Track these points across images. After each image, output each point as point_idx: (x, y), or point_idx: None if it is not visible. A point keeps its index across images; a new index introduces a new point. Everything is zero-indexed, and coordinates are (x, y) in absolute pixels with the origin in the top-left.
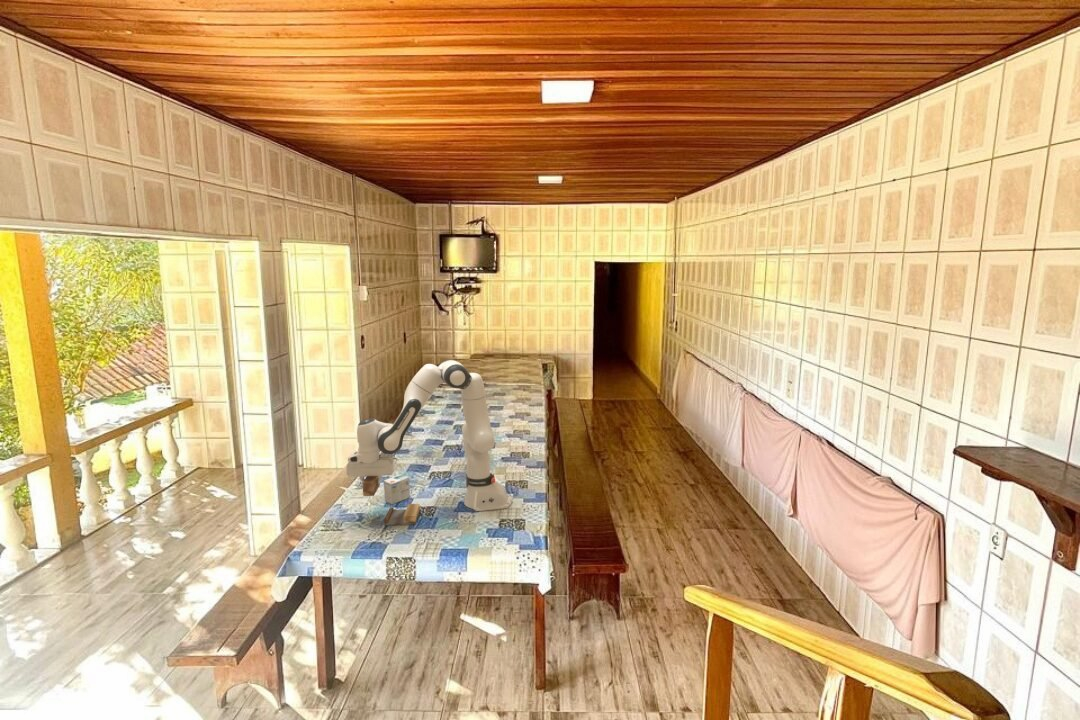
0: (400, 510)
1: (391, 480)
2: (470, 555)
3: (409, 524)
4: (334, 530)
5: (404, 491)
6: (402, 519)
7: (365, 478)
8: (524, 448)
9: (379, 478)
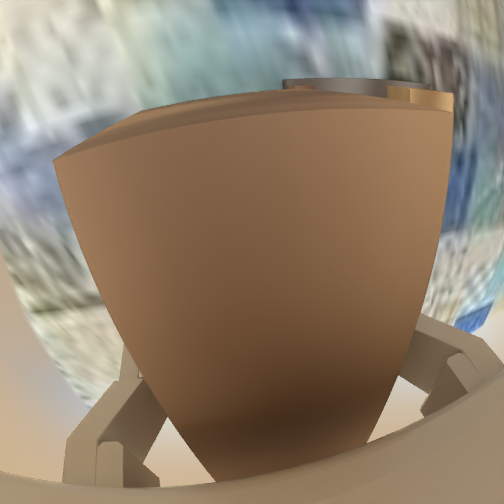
0: (347, 89)
1: None
2: (487, 320)
3: None
4: (82, 308)
5: None
6: None
7: (202, 462)
8: None
9: (427, 391)
